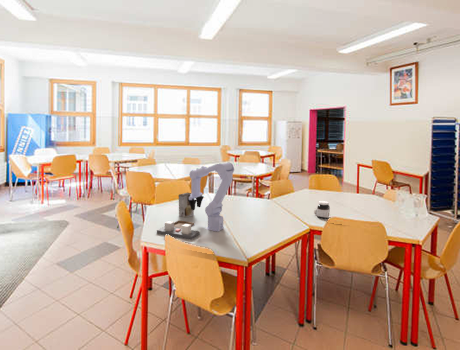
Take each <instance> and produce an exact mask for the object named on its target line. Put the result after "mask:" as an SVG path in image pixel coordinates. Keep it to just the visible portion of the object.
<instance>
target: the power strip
mask: <svg viewBox="0 0 460 350" xmlns="http://www.w3.org/2000/svg"><path fill="white" fill-rule="evenodd" d="M156 234H158V235H159V234H160V235H164V236H166V235H165V234H169V235H171V236H170V237H175V238H180V239H185V240H190V241H191V240H194V239H195V238H197V237H198V236H200V231H198V230H192V229H191V233H190V234H189V235H187V234H182V228H176V227H174V230H173V231H165V225H164V226H162V227H160V228H158V229H157V230H156Z"/></svg>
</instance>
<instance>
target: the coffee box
mask: <svg viewBox="0 0 460 350" xmlns="http://www.w3.org/2000/svg"><path fill="white" fill-rule="evenodd" d="M190 194H192V192H183V193H180V194H178V216H179V217H183V218H186V217H192V216H194V215H195V210H191V206H190V203H189V202H188V199H189V197H190Z"/></svg>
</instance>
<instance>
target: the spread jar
mask: <svg viewBox="0 0 460 350" xmlns="http://www.w3.org/2000/svg"><path fill="white" fill-rule="evenodd" d="M329 204H330V202H329V201H327V200H319V201H318V205H317V206H316V208H314V210H313V214H314V215H316V217H317V218H318V219H321V220H327V219H329V217H330V209H331V208H330V205H329Z"/></svg>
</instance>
